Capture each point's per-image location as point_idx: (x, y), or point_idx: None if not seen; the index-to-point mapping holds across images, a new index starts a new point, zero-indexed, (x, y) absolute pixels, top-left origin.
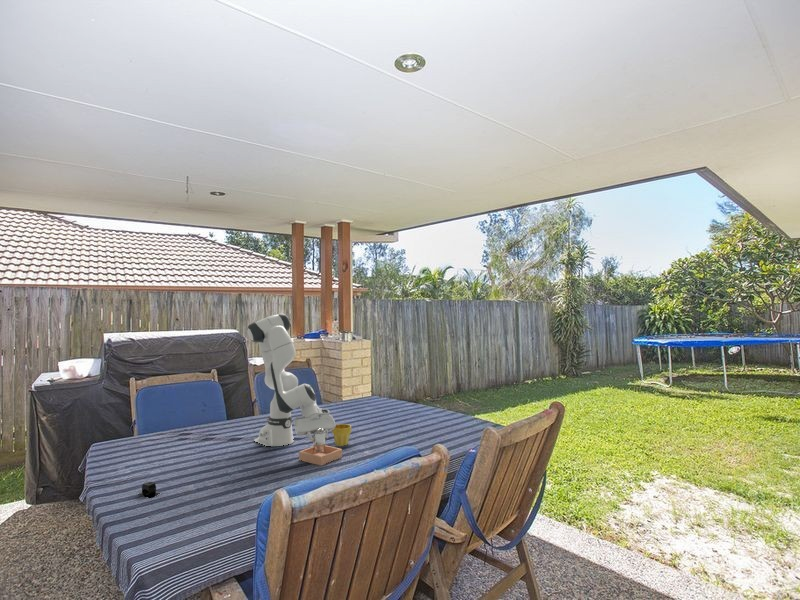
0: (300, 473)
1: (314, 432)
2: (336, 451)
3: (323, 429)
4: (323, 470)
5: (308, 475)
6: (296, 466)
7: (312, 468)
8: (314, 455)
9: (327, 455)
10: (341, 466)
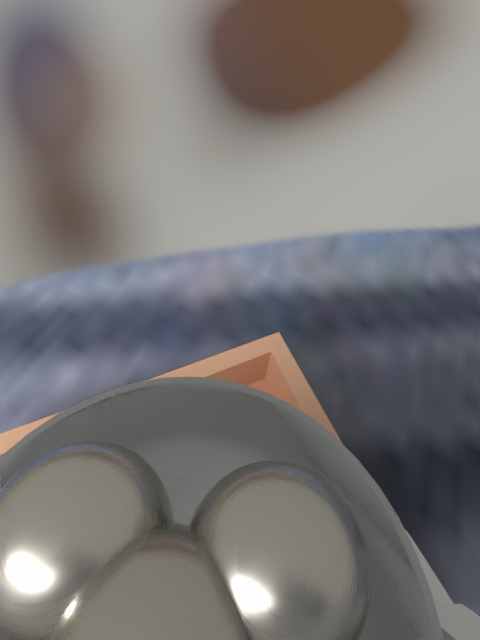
0: (448, 310)
1: (413, 564)
2: (46, 417)
3: (26, 471)
4: (290, 282)
5: (401, 260)
6: (477, 472)
7: (350, 352)
8: (326, 417)
9: (196, 365)
10: (151, 283)
